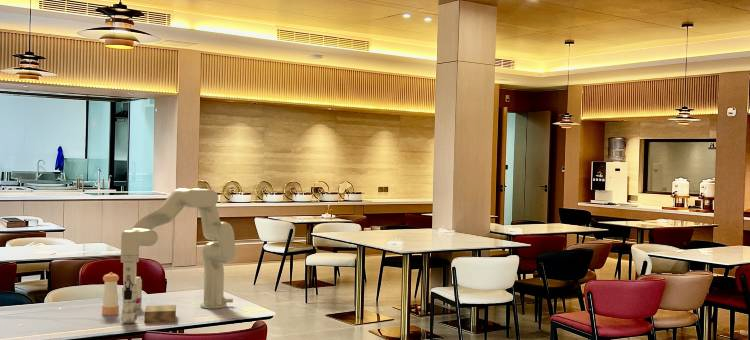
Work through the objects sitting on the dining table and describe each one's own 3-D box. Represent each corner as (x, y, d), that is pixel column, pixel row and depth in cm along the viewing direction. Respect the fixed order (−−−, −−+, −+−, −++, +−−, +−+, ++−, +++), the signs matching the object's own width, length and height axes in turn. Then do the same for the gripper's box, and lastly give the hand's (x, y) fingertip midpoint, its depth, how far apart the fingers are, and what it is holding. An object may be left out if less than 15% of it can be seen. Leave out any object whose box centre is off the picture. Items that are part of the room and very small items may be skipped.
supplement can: (136, 310, 354) (136, 279, 354) (120, 309, 356) (120, 278, 355) (144, 307, 362) (145, 276, 362) (129, 306, 364) (129, 275, 363)
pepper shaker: (122, 312, 349) (122, 271, 349) (111, 315, 342) (112, 273, 342) (109, 311, 352) (109, 270, 351) (98, 314, 345) (99, 272, 344)
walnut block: (175, 315, 345) (175, 305, 345) (175, 322, 332) (175, 310, 332) (146, 316, 342) (146, 305, 342) (144, 323, 329) (144, 311, 329)
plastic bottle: (122, 321, 331) (123, 276, 331) (138, 321, 331) (139, 276, 331) (119, 324, 324) (119, 278, 324) (135, 324, 325) (135, 279, 325)
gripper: (137, 261, 320) (136, 301, 320) (140, 256, 337) (139, 294, 337) (118, 261, 318) (117, 301, 318) (122, 256, 335) (121, 294, 335)
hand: (128, 297), depth 328 cm, fingers open, 9 cm apart
